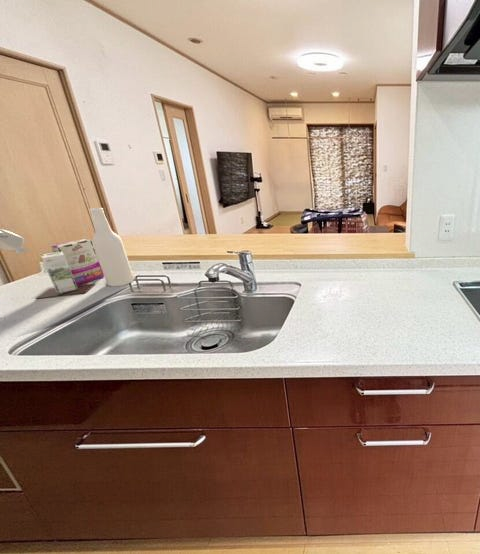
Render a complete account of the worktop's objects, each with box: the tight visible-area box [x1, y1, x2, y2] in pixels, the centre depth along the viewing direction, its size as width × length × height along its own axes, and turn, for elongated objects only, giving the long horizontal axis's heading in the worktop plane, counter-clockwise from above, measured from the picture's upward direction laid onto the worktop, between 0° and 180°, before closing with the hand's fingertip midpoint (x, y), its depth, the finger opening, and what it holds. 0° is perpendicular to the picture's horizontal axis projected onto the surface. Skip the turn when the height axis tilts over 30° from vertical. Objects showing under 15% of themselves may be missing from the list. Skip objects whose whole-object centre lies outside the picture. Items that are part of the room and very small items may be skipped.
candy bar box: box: [50, 238, 105, 285], centre depth 119 cm, size 11×5×16 cm, turn 163°
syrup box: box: [40, 252, 78, 294], centre depth 110 cm, size 6×6×14 cm
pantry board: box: [35, 282, 96, 300], centre depth 112 cm, size 14×9×1 cm, turn 112°
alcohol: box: [88, 207, 135, 287], centre depth 115 cm, size 9×9×30 cm
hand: (7, 251), depth 93 cm, fingers open, 8 cm apart
